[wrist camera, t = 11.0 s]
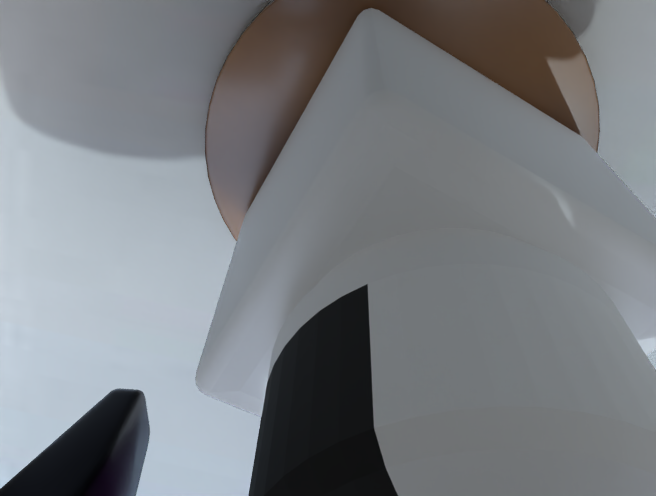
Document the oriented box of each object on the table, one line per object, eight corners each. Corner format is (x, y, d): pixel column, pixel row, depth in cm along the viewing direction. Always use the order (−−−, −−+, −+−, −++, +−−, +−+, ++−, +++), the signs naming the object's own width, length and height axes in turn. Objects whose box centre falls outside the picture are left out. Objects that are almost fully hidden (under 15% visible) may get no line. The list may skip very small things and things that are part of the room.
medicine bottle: (436, 314, 19) (532, 794, 9) (241, 218, 18) (95, 679, 8) (588, 138, 16) (1004, 593, 6) (365, -2, 14) (403, 298, 4)
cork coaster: (151, 1, 15) (146, 3, 14) (603, -100, 13) (610, -100, 13) (263, 330, 20) (261, 338, 20) (589, 284, 19) (593, 292, 19)
